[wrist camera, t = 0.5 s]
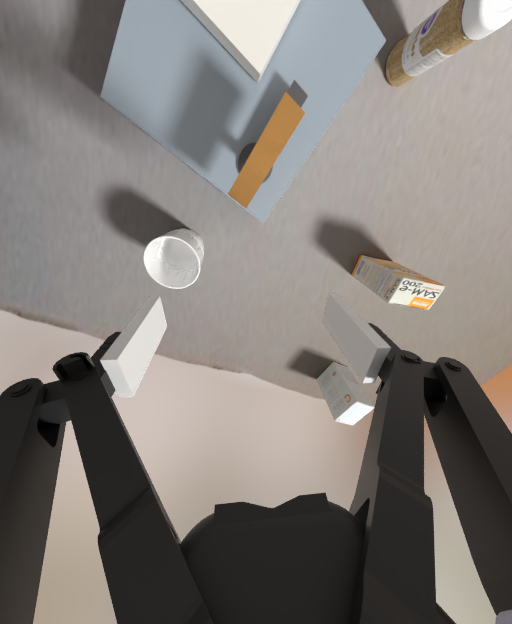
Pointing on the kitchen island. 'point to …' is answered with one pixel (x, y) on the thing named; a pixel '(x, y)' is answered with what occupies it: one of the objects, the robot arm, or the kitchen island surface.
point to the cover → (246, 27)
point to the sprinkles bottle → (445, 36)
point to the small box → (344, 394)
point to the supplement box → (397, 283)
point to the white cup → (175, 258)
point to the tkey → (269, 145)
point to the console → (235, 86)
